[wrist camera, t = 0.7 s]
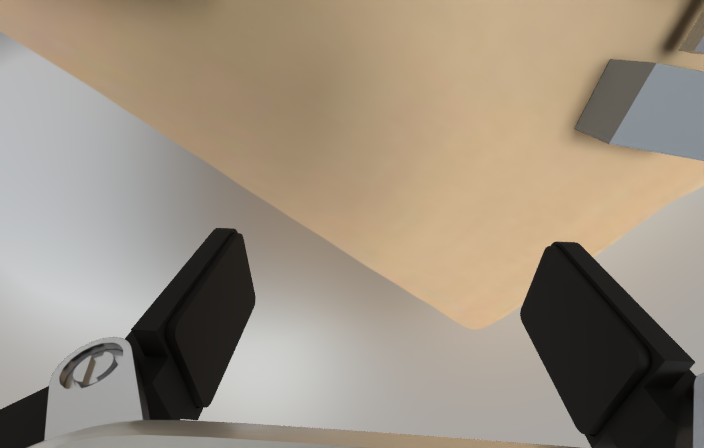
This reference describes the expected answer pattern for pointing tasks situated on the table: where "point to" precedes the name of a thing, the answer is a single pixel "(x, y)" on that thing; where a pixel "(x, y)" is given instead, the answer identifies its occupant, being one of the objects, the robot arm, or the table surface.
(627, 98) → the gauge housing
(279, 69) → the table surface
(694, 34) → the gauge plunger
